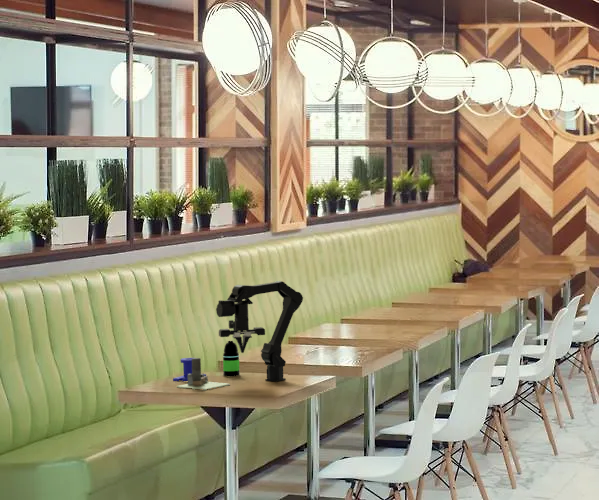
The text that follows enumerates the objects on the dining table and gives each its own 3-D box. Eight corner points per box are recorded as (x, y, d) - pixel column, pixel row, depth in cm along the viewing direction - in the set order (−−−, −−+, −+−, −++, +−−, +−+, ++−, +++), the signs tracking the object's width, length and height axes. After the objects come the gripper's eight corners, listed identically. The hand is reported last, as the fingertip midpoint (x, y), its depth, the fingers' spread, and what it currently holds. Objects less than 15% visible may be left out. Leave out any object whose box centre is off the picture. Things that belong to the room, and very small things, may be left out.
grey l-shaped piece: (198, 380, 514) (197, 354, 513) (208, 380, 513) (208, 354, 513) (190, 386, 500) (189, 359, 500) (201, 385, 499) (200, 359, 499)
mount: (191, 376, 535) (191, 356, 535) (206, 377, 532) (205, 357, 531) (173, 381, 522) (172, 360, 521) (188, 382, 518) (187, 361, 518)
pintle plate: (229, 385, 506) (229, 383, 506) (205, 390, 494) (205, 389, 494) (201, 382, 516) (201, 380, 516) (176, 387, 503) (176, 386, 503)
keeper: (189, 385, 508) (189, 373, 508) (204, 385, 507) (203, 373, 506) (187, 386, 505) (187, 374, 505) (202, 386, 504) (201, 374, 503)
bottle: (237, 376, 529) (236, 342, 528) (221, 376, 530) (220, 342, 530) (241, 374, 536) (240, 340, 535) (225, 374, 538) (224, 340, 537)
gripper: (259, 312, 517) (260, 349, 518) (216, 314, 513) (217, 351, 514) (265, 315, 506) (265, 352, 507) (220, 317, 502) (221, 354, 503)
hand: (242, 352), depth 508 cm, fingers closed
